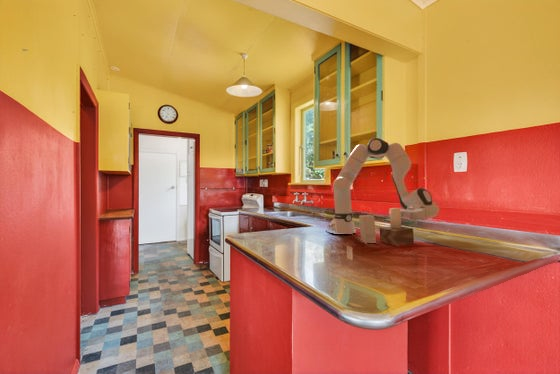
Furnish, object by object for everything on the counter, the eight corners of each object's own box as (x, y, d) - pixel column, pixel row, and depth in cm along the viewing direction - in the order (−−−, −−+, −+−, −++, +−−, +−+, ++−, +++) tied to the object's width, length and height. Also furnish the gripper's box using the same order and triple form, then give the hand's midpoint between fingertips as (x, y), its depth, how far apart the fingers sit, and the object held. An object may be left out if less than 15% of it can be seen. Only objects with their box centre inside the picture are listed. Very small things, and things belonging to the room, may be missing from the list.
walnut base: (380, 241, 143) (379, 227, 143) (396, 239, 148) (395, 225, 148) (396, 246, 132) (395, 230, 132) (413, 243, 136) (413, 228, 136)
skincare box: (376, 244, 139) (375, 216, 139) (364, 244, 139) (363, 216, 139) (371, 240, 147) (369, 214, 147) (359, 241, 147) (358, 214, 147)
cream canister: (388, 228, 141) (387, 208, 142) (395, 227, 143) (394, 207, 143) (396, 229, 136) (394, 209, 136) (403, 228, 138) (402, 208, 138)
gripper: (399, 206, 154) (382, 207, 150) (430, 207, 135) (410, 210, 130) (400, 216, 154) (382, 218, 150) (430, 219, 135) (411, 222, 130)
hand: (395, 214), depth 140 cm, fingers open, 8 cm apart
